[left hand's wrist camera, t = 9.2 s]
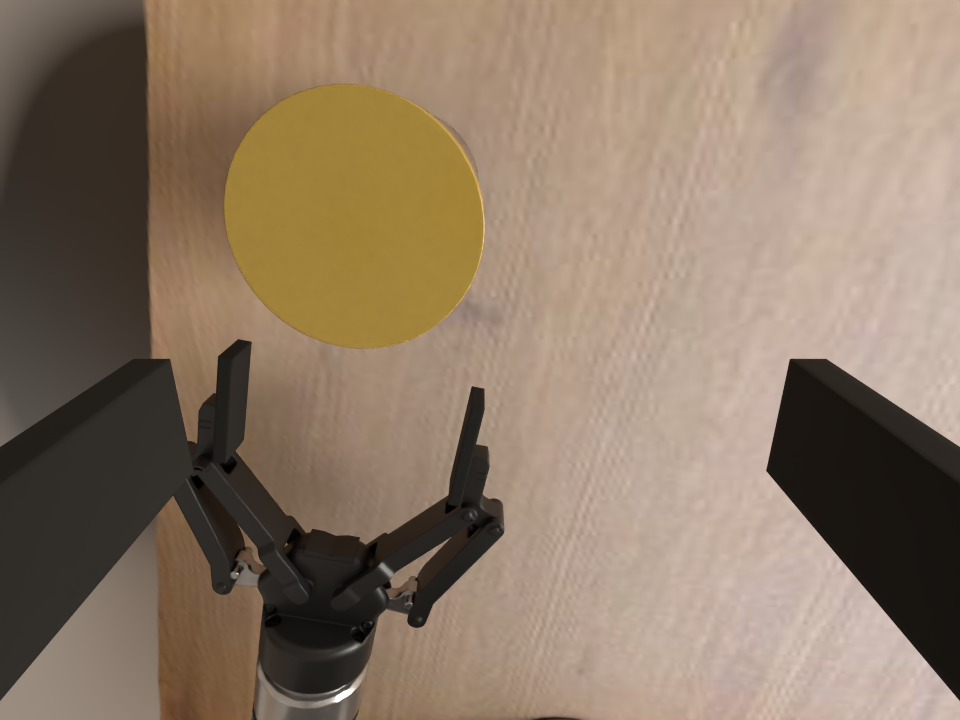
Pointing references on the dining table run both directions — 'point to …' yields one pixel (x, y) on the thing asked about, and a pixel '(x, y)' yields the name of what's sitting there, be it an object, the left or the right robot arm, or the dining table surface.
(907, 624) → the left robot arm
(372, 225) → the lid
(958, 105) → the dining table surface
